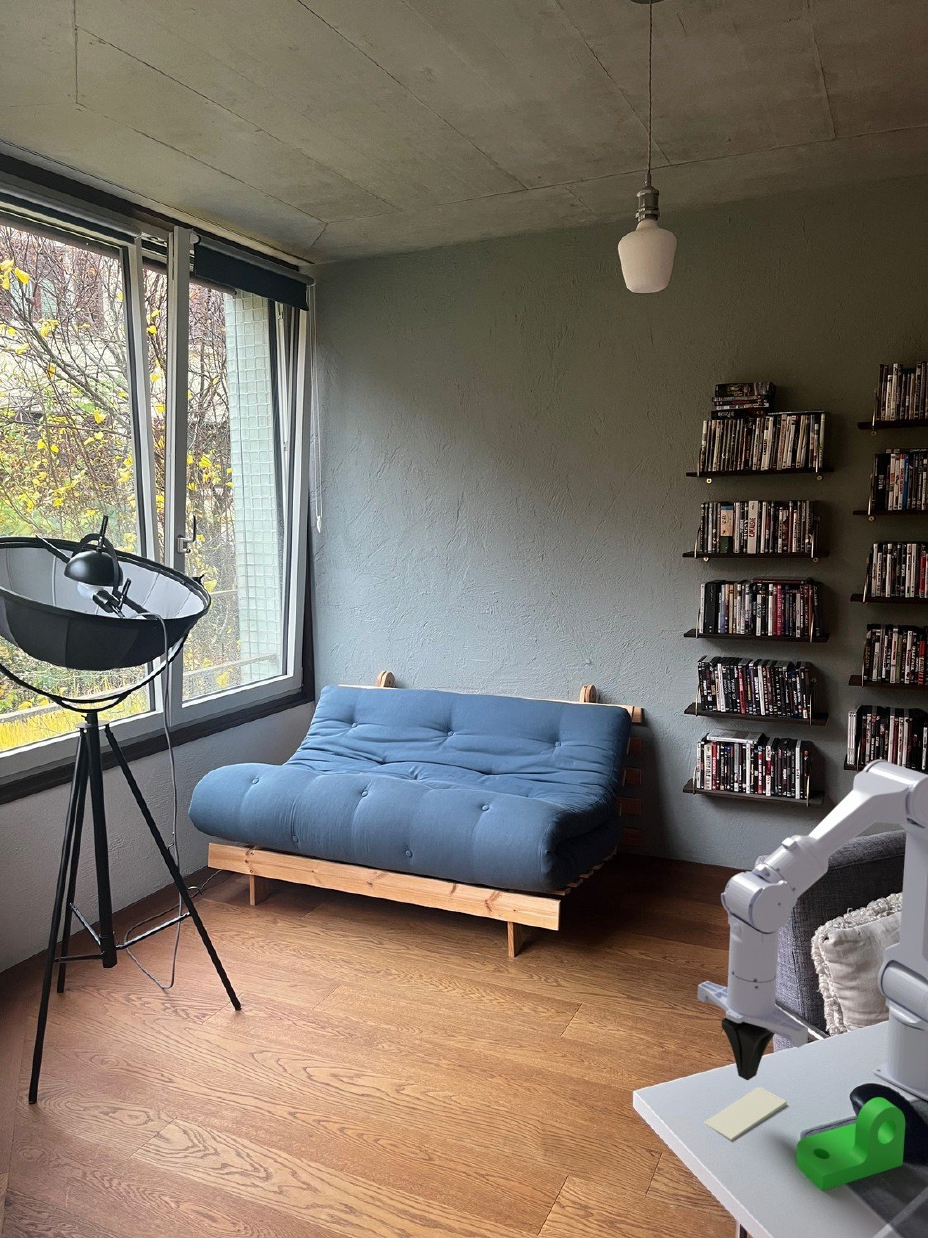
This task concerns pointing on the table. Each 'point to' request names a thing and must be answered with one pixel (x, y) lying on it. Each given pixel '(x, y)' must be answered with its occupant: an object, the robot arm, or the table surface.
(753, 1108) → the plate
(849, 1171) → the mechanical part
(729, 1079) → the table surface
